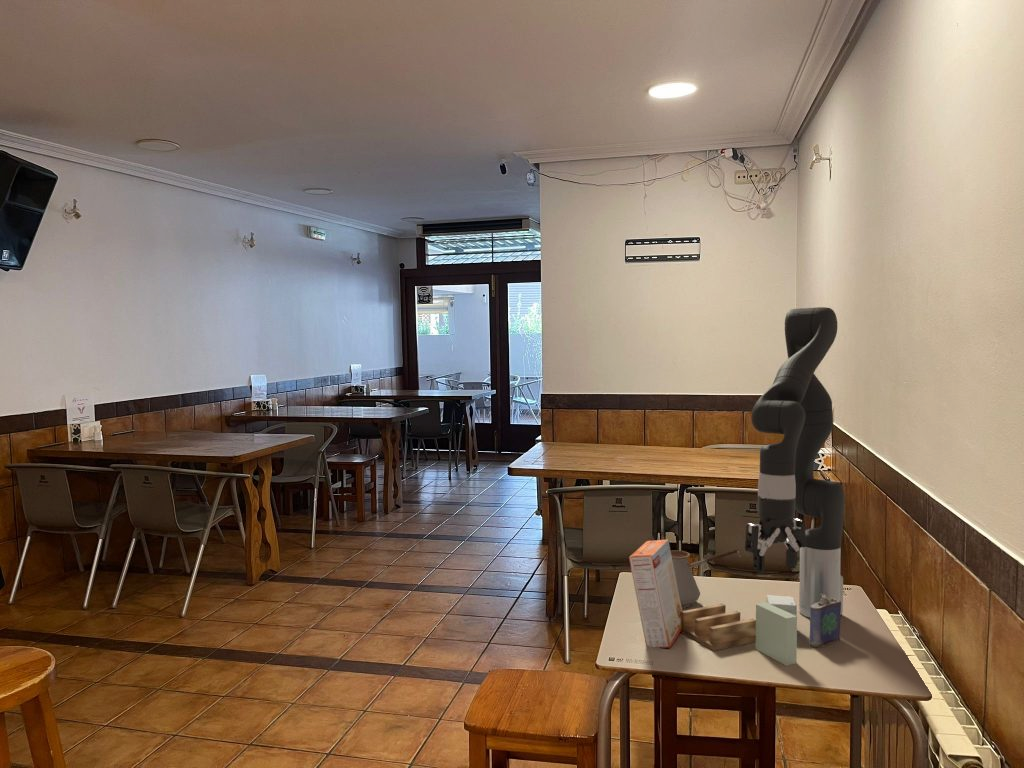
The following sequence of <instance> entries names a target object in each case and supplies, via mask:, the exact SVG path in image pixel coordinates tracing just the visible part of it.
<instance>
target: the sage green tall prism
mask: <svg viewBox="0 0 1024 768" xmlns="http://www.w3.org/2000/svg"><path fill="white" fill-rule="evenodd" d="M755 620H756V642H755V650H756V651H759V652H761V653H762V654H764V655H766V656H768V657H770V658H771V659H774V660H775V661H777V662H779V663H780V664H783V665H784V666H791V665H795V664H797V661H798V660H797V659H798V658H797V657H798V656H797V650H798V649H797V647H798V643H797V642H798V615H797V616H795V615H793V614H791V613H789V612H786V611H784V610H782V609H780V608H777V607H775V606H773V605H771V604H769V603H766V602H761V603H756V604H755Z"/></svg>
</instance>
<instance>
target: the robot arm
mask: <svg viewBox="0 0 1024 768" xmlns="http://www.w3.org/2000/svg"><path fill="white" fill-rule="evenodd" d="M837 333H838V319H837V314H836V313H835V311H834V309H833V308H831V307H825V306H822V307H821V306H819V307H804V308H803V307H801V308H800V307H799V308H792V309H790V310H788V311H787V312H786V314H785V318H784V337H785V345H786V352H787V353H786V354H787V359H786V360H785V361H784V362H783V363H782V364H781V366H780V367H779V369H778V370H777V372H776V375H775V377H774V380H773V382H772V384H771V386H770V387H769V388H768V389H767V390H766V391H765V392H764V393H763V394H762V395H761V396H760V397H759V398H758V399H757V400H756V402H755V404H754V405H753V408H752V411H751V415H750V419H751V420H750V421H751V424H752V426H753V428H754V429H755V430H756V431H758V432H760V433H764V434H775V435H777V434H778V435H783V438H782V440H781V441H780V442H778V443H771V444H765V445H763V446H762V447H761V448H760V451H759V475H758V482H757V483H758V484H757V515H758V517H759V521H758V523H750V522H748V523H747V524H746V528H745V539H744V540H745V543H744V550H745V551H746V552H748V553H751V554H752V559H753V561H752V563H753V564H752V567H753V570H754V572H756V573H758V574H764V573H765V562H766V561H765V557H766V556H765V553H766V552H767V550H768V548H770V547H771V546H772V545H773V544H777V543H783V544H784V546H785V547H786V548H787V549H785V566H786V568H789V569H796V568H797V565H798V551H799V593H798V595H799V596H798V597H799V599H798V601H799V603H798V604H799V605H798V611H799V613H800V614H801V615H802V616H805V617H806V618H809V619H810V606H811V605H813V604H815V603H818V602H820V601H821V598H822V596H823V595H822V596H821V595H820V594H824V595H826V596H827V597H828V598H827V599H830V598H832V599H837V600H840V601H841V613H840V616H842V615H843V614H844V611H843V610H844V609H843V608H844V577H843V576H842V575H841V554H842V553H841V548H842V547H841V546H842V544H841V543H842V538H843V531H844V513H845V491H844V488H843V486H842V484H840V482H838V481H832V480H825V479H817V478H815V475H814V467H815V461H816V457H817V456H818V454H819V452H820V451H821V449H822V448H823V446H824V445H825V443H826V442H827V440H828V439H829V437H830V435H831V433H832V431H833V427H834V413H833V412H834V411H833V402H832V401H833V400H832V398H831V396H830V394H829V391H827V389H826V388H825V386H824V385H823V383H822V382H821V381H820V380H819V378H818V377H817V376H816V374H815V371H816V370H817V369H818V366H819V365H820V364H821V363H822V361H823V360H824V359H825V356H826V355H827V353H828V352H829V350H830V349H831V347H832V346H833V344H834V342H835V339H836V337H837ZM796 512H797V513H799V514H800V515H804V516H809V517H814V518H820V519H821V523H820V526H818V527H814V528H812V527H811V528H808V529H807V528H806V521H805V520H804V519H800V518H797V517H796ZM819 595H820V596H819ZM841 614H842V615H841Z"/></svg>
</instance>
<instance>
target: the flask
mask: <svg viewBox="0 0 1024 768" xmlns="http://www.w3.org/2000/svg"><path fill="white" fill-rule="evenodd" d="M820 595H821V596H822V595H823V596H822V598H821V601H820V602H818V603H815V604H813V605H811V606H810V618H809V646H810V647H813V648H815V649H817V648H823V646H827V645H828V646H829V645H830V644H833V643H835V642H834V641H836V642H839V640H840V639H841V638H840V637H841V635H840V634H841V615H840V613H841V601H840V600H837V599H832V598H830V599H827V598H828V597H827V596H826V595H824V594H820ZM820 595H819V596H820Z"/></svg>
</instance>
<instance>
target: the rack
mask: <svg viewBox="0 0 1024 768" xmlns="http://www.w3.org/2000/svg"><path fill="white" fill-rule="evenodd" d="M681 620H682V630H681V632H680V633H682V632H683V633H682V634H684V635H686V636H687V637H689V638H691V639H692V638H693V640H695V641H696V642H697V641H698V642H697V643H699V644H701V645H703V646H704V647H706V648H707V649H709V650H710V651H718V650H723V649H728V648H732V647H733V648H734V647H737V646H741V645H747V644H750V643H756V618H748V619H743V620H741V612H740V611H739V610H734V611H730V612H729V611H728V612H726V604H724V603H719V604H712V605H708V606H703V607H697V608H691V609H687V610H682V611H681Z"/></svg>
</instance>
